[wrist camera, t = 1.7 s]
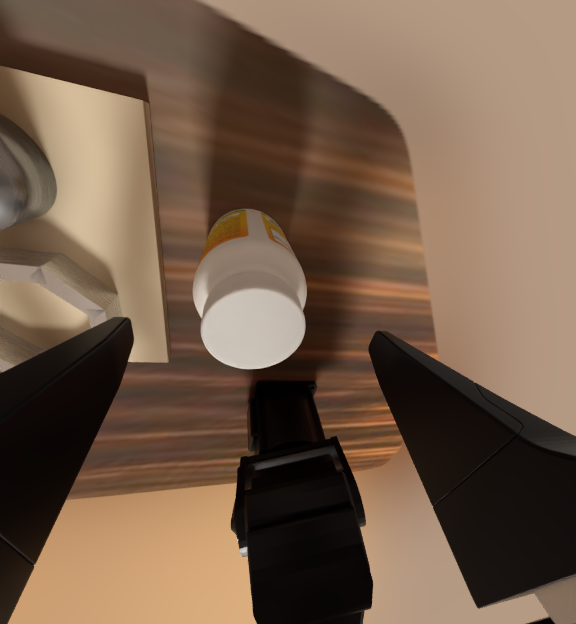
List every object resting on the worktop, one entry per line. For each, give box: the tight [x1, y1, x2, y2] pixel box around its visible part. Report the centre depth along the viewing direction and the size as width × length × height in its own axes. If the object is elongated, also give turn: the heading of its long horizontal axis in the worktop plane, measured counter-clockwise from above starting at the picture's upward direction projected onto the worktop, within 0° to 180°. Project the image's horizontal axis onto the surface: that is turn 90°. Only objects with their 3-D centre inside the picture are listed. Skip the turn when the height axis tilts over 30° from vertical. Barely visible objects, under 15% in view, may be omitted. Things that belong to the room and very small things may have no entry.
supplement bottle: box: [193, 209, 307, 369], centre depth 13 cm, size 5×5×10 cm
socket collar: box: [0, 247, 123, 372], centre depth 16 cm, size 9×9×2 cm
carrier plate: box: [0, 66, 171, 362], centre depth 15 cm, size 14×17×1 cm
